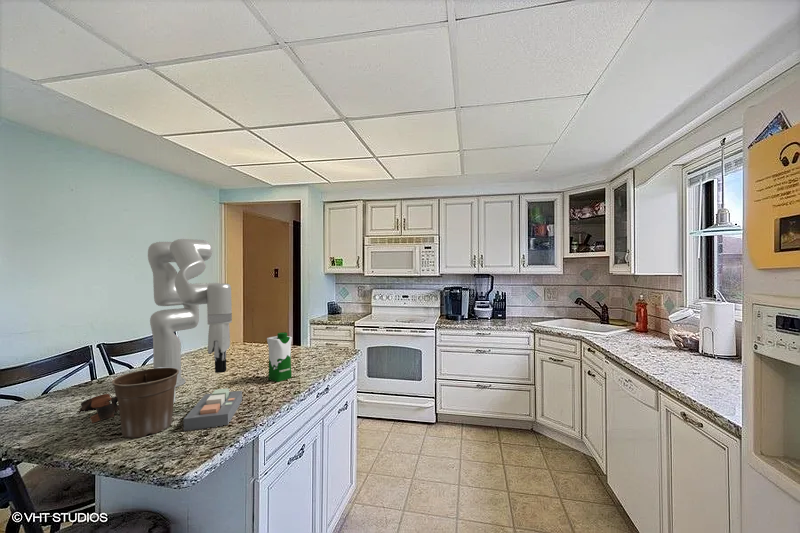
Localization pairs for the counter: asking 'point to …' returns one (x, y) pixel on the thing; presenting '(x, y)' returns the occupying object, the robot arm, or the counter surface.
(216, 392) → the sage key
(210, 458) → the counter surface
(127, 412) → the plant pot
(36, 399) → the counter surface
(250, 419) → the counter surface
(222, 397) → the cream key
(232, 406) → the keypad
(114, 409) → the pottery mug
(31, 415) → the counter surface
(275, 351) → the milk carton
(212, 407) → the terracotta key
